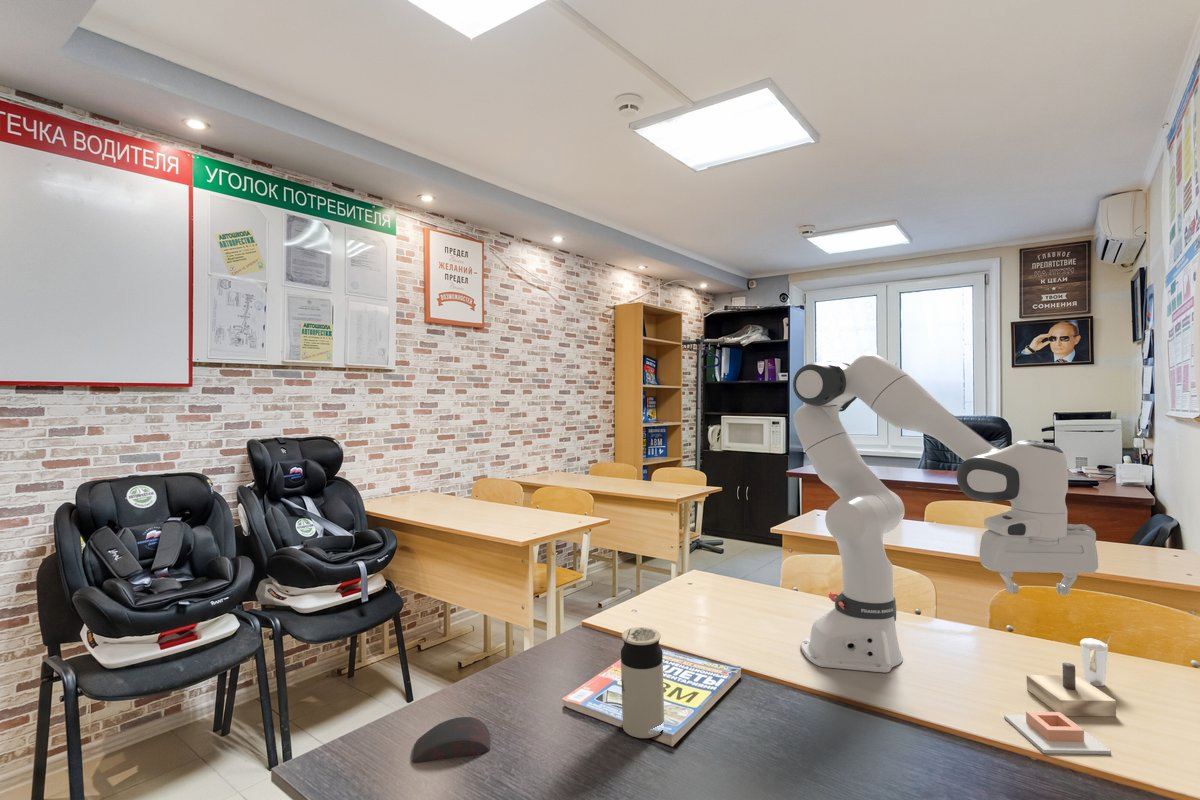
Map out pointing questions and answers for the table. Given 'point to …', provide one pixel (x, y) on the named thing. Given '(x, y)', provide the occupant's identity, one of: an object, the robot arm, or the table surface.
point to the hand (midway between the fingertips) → (1037, 593)
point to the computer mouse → (452, 740)
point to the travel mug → (642, 681)
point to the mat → (1060, 747)
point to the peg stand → (1071, 694)
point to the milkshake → (1094, 660)
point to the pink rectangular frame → (1055, 726)
